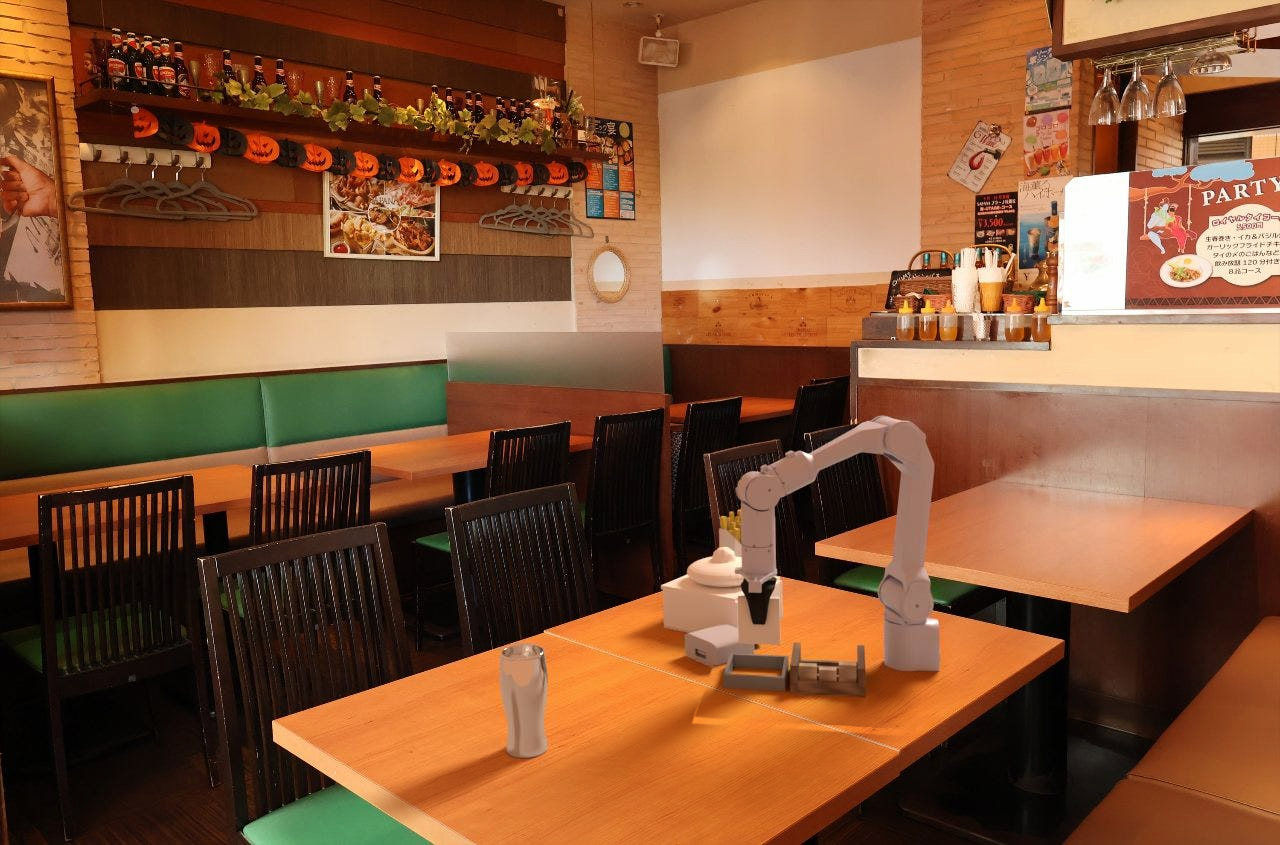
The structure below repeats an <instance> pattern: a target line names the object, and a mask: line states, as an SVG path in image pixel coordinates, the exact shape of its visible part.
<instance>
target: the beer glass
mask: <svg viewBox="0 0 1280 845" xmlns="http://www.w3.org/2000/svg"><path fill="white" fill-rule="evenodd" d="M548 675H549V674H548V664H547V657H546V648H545V647H544V646H542V645H541V644H537V643H531V642H529V643H517V644H516V643H515V644H510V645H508V646H506V647H503V648H502V649H501V650H500V652H499V686H500V694H501V699H502V704H503V708H504V712H505V716H506V722H507V730H508V731H507V739H506V740H507V741H506V749H505V750H506V753H507V754H508V755H509V756H511V757H513V758H517V759H530V758H531V759H532V758H534V757H539V756H541V755H542V754H544V753H545V752H546V751H547V750H548V747H549V745H548V738H547V734H546V730H545V715H546V714H545V712H546V706H547V698H548V690H549V689H548V687H549V683H548V682H549V681H548V680H549V679H548V678H549V677H548Z"/></svg>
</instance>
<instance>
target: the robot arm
mask: <svg viewBox="0 0 1280 845" xmlns="http://www.w3.org/2000/svg"><path fill="white" fill-rule="evenodd" d="M926 441H927V434H926V433H924V432H923V431H922V430H921V429H920V428H919V427H918V426H917V425H916V424H914V423H913V422H911V421H908V420H900V419H896V418H892V417H890V416H887V415H878V416H876V417H874V418H873V419H871V420H867V421H864V422H862V423H859V424H858V425H857V426H856V427H854V428H852V429H851V430H848V431H846V432H845V433H842V435H840V436H838V437H836V438H834V439H832V440H830V441H829V442H827V443H825V444H824V445H822V446H820V447H818V448H817V449H815V450H813V451H811V452H810V453H807V452H804V451H802V450H797V451H793V450H789V451H787V452H785V454H784V455H785V457H783V458H781V459H779V460H778V461H775V462H773V463H771V464H769V465H767V464H763V465H761V466H760V471H754V470H753V471H752V470H751V471H748V472H747V473H744V474H743V475H741V477H740V479H739V480H738V483H737V487H735V493H736V496H737V498H738V499H739V500H740V501H741V502H740V509H741V557H742V567H736V568H735V574H741V575H742V576H743V577H744V579H743V582H742V583H741V589H742V591H743V593H744V595H745V597H746V599H747V602H748V606H749V610H750V615H751V620H752V623H753V624H758V625H765V623H766V619H767V613H768V605H769V600H770V597H771V595H772V593H773V591H774V588H775V584H776V581H777V578H776V577H774V576H778V575H777V574H778V569H777V560H776V558H777V557H776V554H777V553H776V547H777V546H776V516H775V515H776V514H775V511H776V510H775V507H776V506H777V504H778V503H779V501H780V499H781V498H783V497H785V496H788V495H790V494H792V493H793V492H795V491H797V490H800V489H801V488H803V487H806V486H807V485H809V484H811V483H814V481H816V478H817V476H818V474H819V472H820V471H821V470H823V469H825V468H829V467H830V466H833V465H835V464H837V463H841V462H842V461H845V460H847V459H849V458H851V457H853V456H855V455H858V454H861V453H865V454H866V453H867V454H874V455H875V454H876V455H883V456H884V457H885V458H888V460H889V461H890V462H891V463H892V464H893V465H894V466H895V467H896V469H898V470H899V471H900V481H899V490H898V501H897V502H898V503H897V509H896V510H897V511H896V522H895V530H894V538H893V539H894V540H893V547H892V548H893V551H892V560H891V561H890V562H889V563H888V564H887V565H886V567H885V570H884V575H883V578H882V580H881V581H880V583H879V585H878V588H877V595H878V596H877V597H878V599H879V602H880V603H881V604H882V605H883V606H884V612H883V663H884V665H885V666H886V667H888V668H890V669H894V670H897V671H904V672H913V671H915V672H916V671H926V672H927V671H928V672H930V671H931V672H940V662H941V650H940V649H941V648H940V644H941V642H940V625H939V624H940V623H939V620H938V619H937V618H931V617H930V616H931V614H932V612H933V611H934V610H933V609H934V605H935V604H934V598H933V596H932V592H931V579H930V576H929V575H928V572H927V570H926V568H925V561H926V553H927V552H926V551H927V541H928V531H929V525H930V524H929V522H930V512H931V503H932V494H933V485H934V476H935V475H934V474H935V462H934V459H933V457H932V454H931V452H930V450H929V447H928V445H927V442H926Z"/></svg>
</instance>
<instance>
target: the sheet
mask: <svg viewBox="0 0 1280 845" xmlns="http://www.w3.org/2000/svg"><path fill="white" fill-rule="evenodd" d="M781 635H782V634H781V620H780V597H770V600H769V605H768V613H767V619H766V623H765V625H758V624H753V623H752V620H751V615H750V610H749V606H748V602H747V599H746V597H745V596H738V636H739V644H754V645H769V646H771V645H772V646H781V643H782V642H781V641H782V640H781V638H782V637H781Z"/></svg>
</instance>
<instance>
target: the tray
mask: <svg viewBox="0 0 1280 845" xmlns="http://www.w3.org/2000/svg"><path fill="white" fill-rule="evenodd" d="M789 657H790V656H789V655H780V654H757V653H754V654H736V653H730V655H729V658H728V661H727V663H725V664H726V665H725V667H724V670H723V673H722V685H723V686H722V688H723V689H741V690H761V691H762V690H763V691H778V692H779V691H780V692H781V691H782V692H786V687H787V682H788V680H787V679H788V674H789V671H790V662H789V661H790V659H789ZM734 668H748V669H752V668H753V669H770V670H773V669H774V670H782V672H781V676H780V675H761V674H741V673H738V674H737V673H733V669H734Z"/></svg>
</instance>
